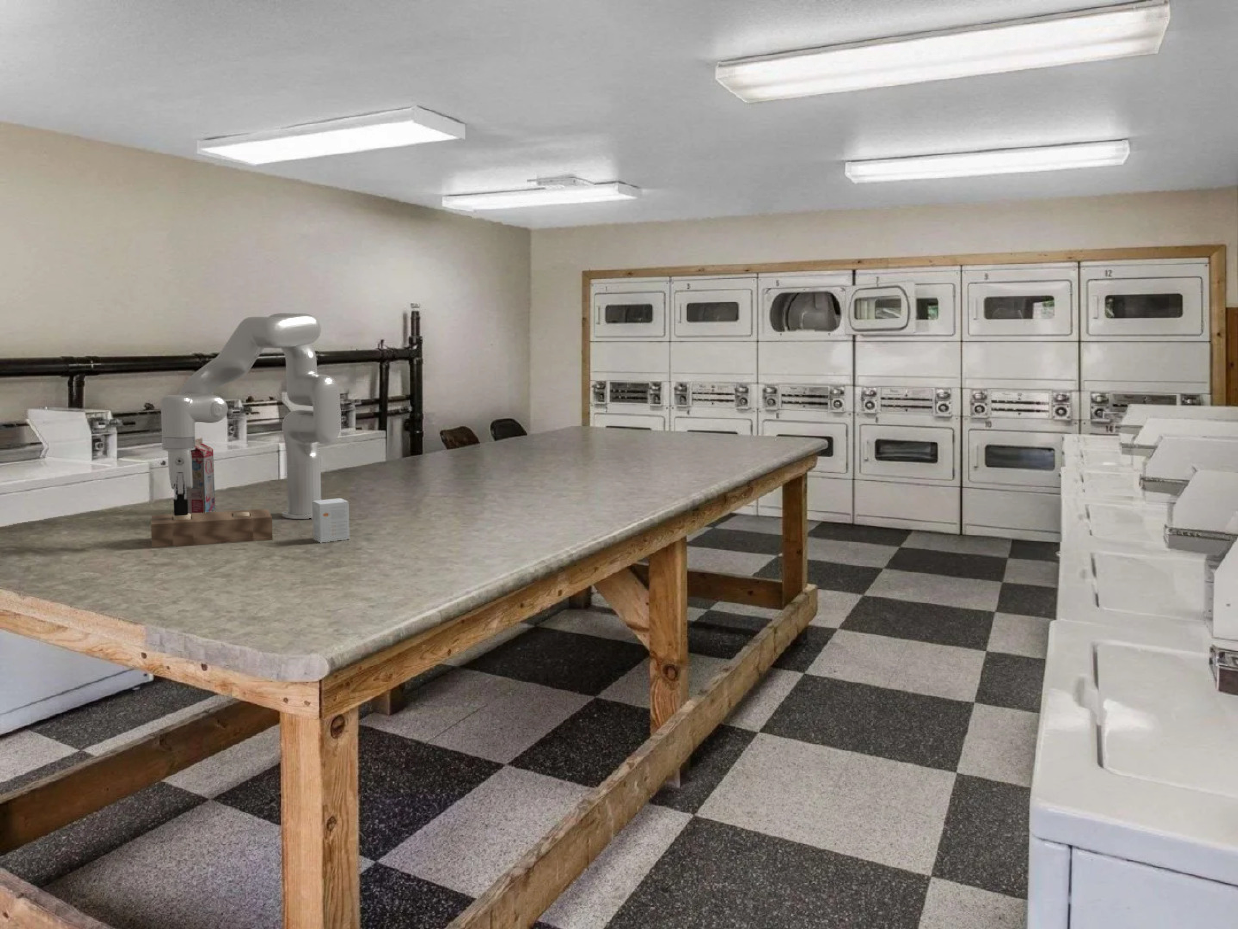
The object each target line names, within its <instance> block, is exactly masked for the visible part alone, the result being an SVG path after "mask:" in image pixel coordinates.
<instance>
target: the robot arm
mask: <svg viewBox="0 0 1238 929" xmlns="http://www.w3.org/2000/svg"><path fill="white" fill-rule="evenodd" d="M321 332H322V327H321V324H320V321H319V319H317V317H315V316H314V315H312V314H309V313H291V312H288V313H286V312H281V313H279V312H278V313H273V314H271V315H269V316H248V317H246V318H244V319H243V320H241V322H240V323H239V324H238V325H237V327H236V329H235V330H234V331H233V333H232V335H230V336H229V339H228V340H227V342H226V343H225V345H224V346H223V348H222V349H221V351H220V352H219V354H217V356H216V357H214V358H213V359H211V360H210V361H208V362H207V363H206V364H205V365H203V366H202V367H201V368H199V369H197V371H195V372H194V373H193V374H192V375H191V376H190V377H189V378H188V379H187V380H186V382H185V383H184V384H183V386H182V387H181V388H180V389H179V391H178V393H177V394H167V395H164V396H163V397H162V398H161V400H160V416H161V417H160V418H161V445H162V446H161V447H162V448H161V449H162V451H165V452H167V465H168V475H169V482H170V487H171V490H173V494H174V499H173V514H174V515H175V516H179V515H188V499H187V496H186V490H187V489H186V486H187V487H190V489H191V488H193V484H192V457H191V450H195V439H196V423H207V424H215V423H218V422H220V421H222V420H224V418H226V416H227V415H228V411H229V409H228V408H229V406H228V403H227V402H226V401H225V399H224V398H223V397H222V396H219V395H217V394H212V393H213V392H214V391H216V390H217V389H218V388H221V387H222V386H223V385H226V384H229V383H231V382H235V381H237V380H239V379H242V378H243V377H245V376H246V375H247V374H248V373H250V370H251V368H252V367H253V365H254V364H255V362H256V361H257V359H258V357H259V356H260V355H261V353H262V352H263V351H264V349H281V351H282V352H283V354H284V358H285V369H286V370H285V373H286V374H285V376H286V378H285V380H286V396H287V400H289V402H291V403H292V404H294V405H298V406H305V407H312V410H307V409H295V410H292V411H290V412H288V413H286V415H285V416H284V418H283V420H282V423H281V431H282V435H283V440H284V443H285V444H284V445H285V454H286V486H287V487H286V491H287V492H286V498H287V509H285V510H283V511H282V512H281V516H282V517H283V518H286V519H291V520H292V519H293V520H308V519H309V518H311V519H312V501H317V500H323V499H322V480H321V479H322V476H321V475H322V472H321V471H322V470H321V468H322V467H321V453H320V449H319V447H318V445H330V444H332V443H334V442H336V440H338V437H339V435H340V431H341V391H340V388H339V385H338V383H337V381H336V380H335V378H334V377H332V376H331V375H328V374H324V373H322V374H321V373H318V366H317V364H318V363H317V354H316V352H315V351H316V350H315V349H314V347H313V345H312V344H313V343H315V342H316V341H318V339H319V337H320V334H321Z"/></svg>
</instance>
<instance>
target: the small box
mask: <svg viewBox="0 0 1238 929" xmlns="http://www.w3.org/2000/svg"><path fill="white" fill-rule="evenodd" d="M349 503H350V502H349V501H348V500H346V499H343V498H341V497H340V498H339V497H338V498H329V499H328V498H327V499H322V500H317V501H312V518H311V520H312V539H313V540H314V541H316V540H317V541H318V542H317V541H316V542H317V543H319V542H320V544H323V543H322V542H326V543H331V542H330V541H334V542H338V541H337V540H342V541H348V540H347V539H349V540H350V514H349V513H350V510H349V507H350V506H349Z"/></svg>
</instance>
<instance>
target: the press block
mask: <svg viewBox="0 0 1238 929" xmlns="http://www.w3.org/2000/svg"><path fill="white" fill-rule="evenodd" d="M236 512H249V515H250V516H239V517H233V513H236ZM189 514H191V519H188V520H173V515H174V513H173V514H172V513H171V514H157V515H156V514H155V515H154V514H152V515H151V517H150V518H151V519H150V520H151V521H150V531H151V532H150V535H151V549H155V548H154V547H162V548H168V547H167V546H176V547H186V546H187V547H188V546H201V544H204V545H214V544H215V543H218V544H227V543H226V542H232V543H237V542H236V541H246V542H255V541H254V540H260V541H270V540H272V541H273V537H274V536H273V517H272V515H271V512H270V511H269V510H268V508H263V509H247V510H246V509H245V510H244V509H243V510H228V511H227V510H226V511H223V510H222V511H212V512H206V513H189ZM215 545H216V544H215Z"/></svg>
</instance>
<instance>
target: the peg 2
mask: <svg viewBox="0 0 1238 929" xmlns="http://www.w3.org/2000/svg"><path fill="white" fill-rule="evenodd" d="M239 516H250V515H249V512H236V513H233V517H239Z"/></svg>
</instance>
